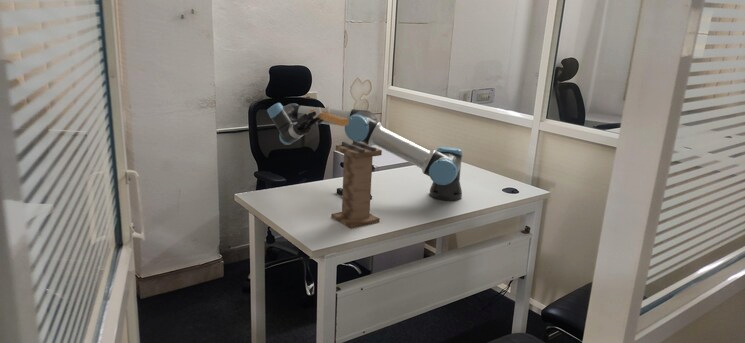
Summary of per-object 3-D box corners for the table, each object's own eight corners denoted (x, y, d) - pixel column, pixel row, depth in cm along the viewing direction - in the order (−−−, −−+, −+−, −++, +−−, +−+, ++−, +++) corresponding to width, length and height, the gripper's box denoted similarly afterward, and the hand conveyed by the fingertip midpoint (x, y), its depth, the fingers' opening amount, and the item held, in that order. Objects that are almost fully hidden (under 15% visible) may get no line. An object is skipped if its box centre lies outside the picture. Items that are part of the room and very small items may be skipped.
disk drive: (335, 194, 250) (353, 203, 238) (336, 188, 249) (353, 197, 238) (354, 191, 256) (372, 200, 244) (354, 185, 255) (372, 194, 243)
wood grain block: (310, 115, 233) (310, 109, 232) (317, 114, 235) (317, 109, 234) (341, 125, 215) (341, 119, 214) (348, 125, 217) (348, 119, 216)
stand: (331, 217, 220) (333, 142, 211) (359, 211, 228) (362, 139, 219) (351, 228, 209) (354, 150, 200) (379, 222, 217) (383, 146, 209)
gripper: (317, 134, 249) (343, 116, 231) (285, 137, 239) (309, 119, 221) (313, 118, 250) (338, 100, 232) (281, 121, 241) (305, 102, 222)
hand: (324, 109), depth 226 cm, fingers closed on wood grain block, 3 cm apart
